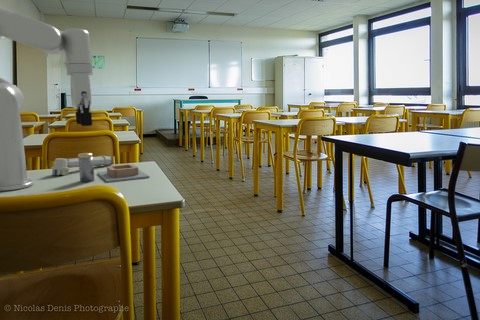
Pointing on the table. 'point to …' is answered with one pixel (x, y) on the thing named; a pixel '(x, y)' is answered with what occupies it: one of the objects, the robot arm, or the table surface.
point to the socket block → (122, 173)
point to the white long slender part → (77, 164)
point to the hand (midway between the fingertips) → (84, 124)
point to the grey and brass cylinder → (86, 167)
